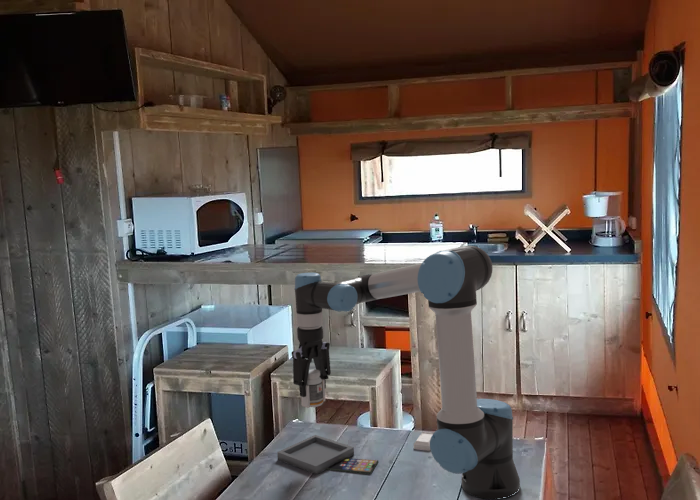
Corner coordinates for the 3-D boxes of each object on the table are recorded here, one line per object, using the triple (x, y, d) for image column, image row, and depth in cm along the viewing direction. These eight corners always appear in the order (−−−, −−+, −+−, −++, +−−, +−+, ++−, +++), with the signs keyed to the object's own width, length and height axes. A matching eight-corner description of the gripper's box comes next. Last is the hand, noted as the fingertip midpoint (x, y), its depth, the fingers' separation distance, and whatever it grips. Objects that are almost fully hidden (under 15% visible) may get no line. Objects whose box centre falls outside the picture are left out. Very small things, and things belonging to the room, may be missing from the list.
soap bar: (413, 450, 209) (413, 441, 209) (421, 438, 217) (421, 430, 217) (429, 452, 207) (429, 443, 207) (437, 440, 216) (437, 432, 215)
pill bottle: (327, 402, 204) (325, 370, 203) (315, 409, 200) (314, 375, 198) (311, 399, 208) (309, 367, 206) (300, 405, 203) (298, 373, 201)
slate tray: (354, 455, 206) (353, 447, 206) (316, 474, 194) (315, 466, 194) (315, 442, 217) (315, 434, 217) (277, 459, 205) (277, 452, 205)
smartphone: (329, 459, 205) (329, 455, 205) (378, 463, 201) (378, 459, 201) (320, 470, 198) (320, 466, 198) (370, 476, 193) (370, 471, 193)
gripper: (323, 318, 210) (326, 392, 213) (277, 331, 196) (281, 410, 199) (341, 321, 205) (344, 397, 208) (295, 335, 191) (299, 415, 194)
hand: (313, 403), depth 204 cm, fingers closed on pill bottle, 6 cm apart
